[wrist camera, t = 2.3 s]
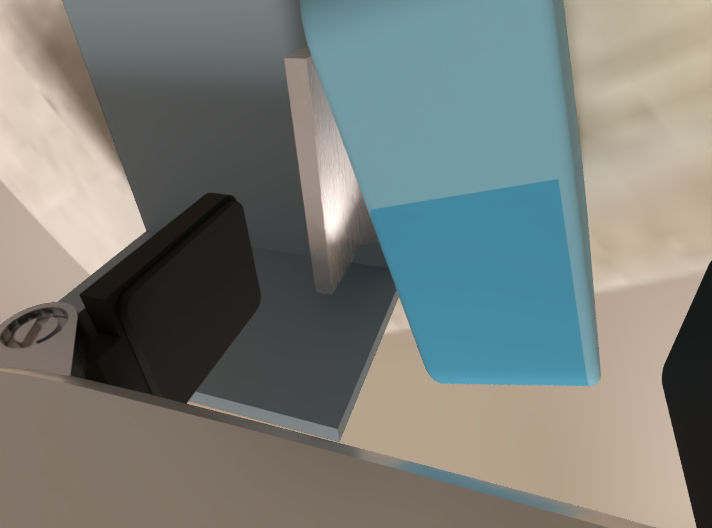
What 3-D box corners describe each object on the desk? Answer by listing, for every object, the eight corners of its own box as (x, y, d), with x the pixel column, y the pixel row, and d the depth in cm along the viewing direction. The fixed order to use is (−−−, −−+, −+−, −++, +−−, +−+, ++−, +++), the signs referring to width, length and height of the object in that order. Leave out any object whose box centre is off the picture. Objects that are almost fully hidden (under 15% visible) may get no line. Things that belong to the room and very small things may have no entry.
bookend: (400, 30, 19) (364, 60, 15) (400, 246, 24) (374, 302, 21) (332, 30, 19) (284, 58, 16) (348, 239, 25) (315, 292, 22)
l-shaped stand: (415, -26, 19) (287, 40, 10) (411, 266, 27) (339, 442, 18) (82, -16, 23) (-200, 34, 15) (165, 229, 32) (15, 354, 23)
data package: (418, -69, 18) (271, -38, 9) (548, -125, 16) (532, -159, 7) (484, 212, 24) (436, 407, 14) (586, 197, 22) (604, 414, 12)
